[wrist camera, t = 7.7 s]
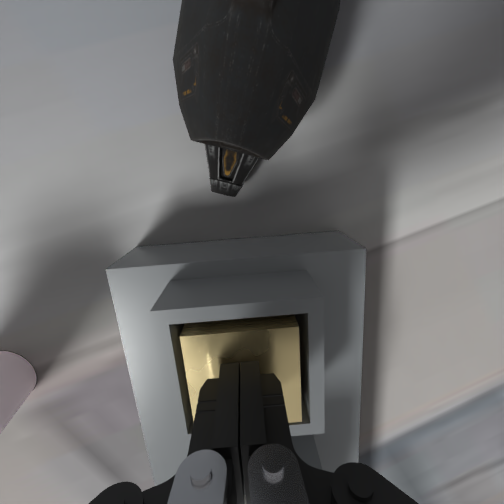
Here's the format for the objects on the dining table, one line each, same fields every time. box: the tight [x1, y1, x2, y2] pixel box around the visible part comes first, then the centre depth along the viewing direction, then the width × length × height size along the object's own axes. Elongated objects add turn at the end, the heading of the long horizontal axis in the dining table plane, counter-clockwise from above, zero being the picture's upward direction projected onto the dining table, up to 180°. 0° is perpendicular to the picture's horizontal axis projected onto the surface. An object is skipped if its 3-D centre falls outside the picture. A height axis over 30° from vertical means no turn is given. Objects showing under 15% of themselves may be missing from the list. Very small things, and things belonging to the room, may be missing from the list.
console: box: [106, 231, 366, 495], centre depth 17 cm, size 12×26×7 cm, turn 4°
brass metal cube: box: [180, 314, 302, 423], centre depth 13 cm, size 4×4×3 cm
